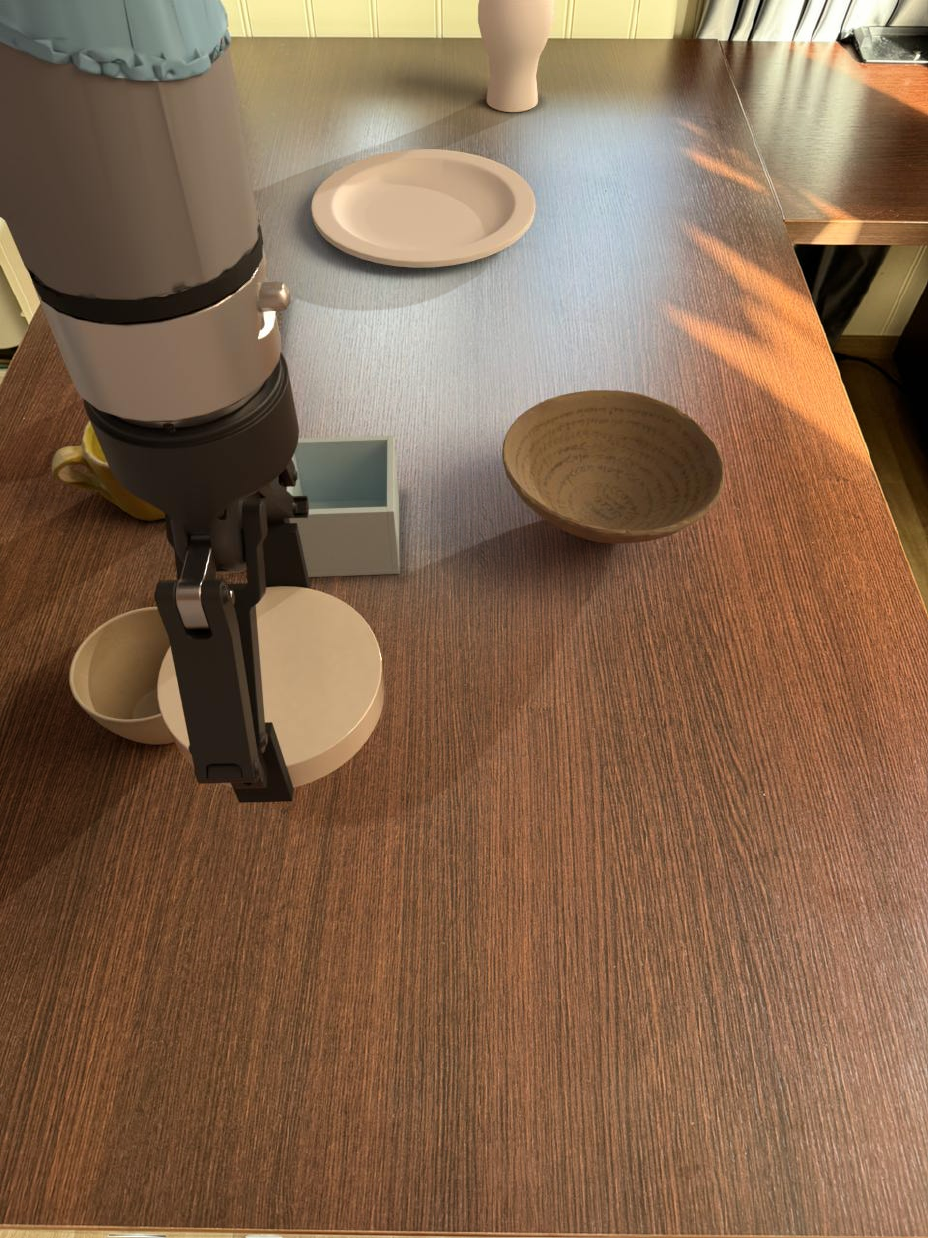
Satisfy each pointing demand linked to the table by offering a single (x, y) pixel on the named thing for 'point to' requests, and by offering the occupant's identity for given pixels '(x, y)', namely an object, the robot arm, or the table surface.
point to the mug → (98, 476)
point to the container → (348, 505)
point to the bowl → (613, 466)
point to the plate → (423, 208)
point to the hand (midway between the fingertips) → (279, 692)
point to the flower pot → (123, 675)
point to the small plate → (304, 681)
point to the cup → (514, 49)
